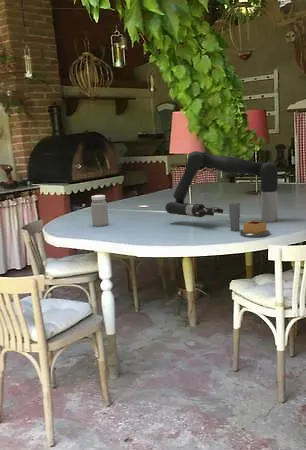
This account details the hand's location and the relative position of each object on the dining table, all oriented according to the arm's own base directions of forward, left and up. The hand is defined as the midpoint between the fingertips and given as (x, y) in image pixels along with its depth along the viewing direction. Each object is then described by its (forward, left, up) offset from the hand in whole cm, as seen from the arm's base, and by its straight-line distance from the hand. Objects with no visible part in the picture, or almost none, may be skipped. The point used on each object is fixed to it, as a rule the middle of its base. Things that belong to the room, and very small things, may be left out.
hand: (218, 212), depth 292 cm
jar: (-21, -72, -9) cm, 76 cm away
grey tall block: (+6, +9, -9) cm, 14 cm away
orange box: (+17, +19, -9) cm, 27 cm away
